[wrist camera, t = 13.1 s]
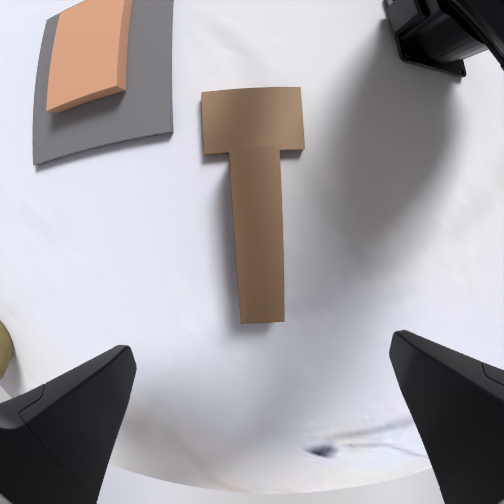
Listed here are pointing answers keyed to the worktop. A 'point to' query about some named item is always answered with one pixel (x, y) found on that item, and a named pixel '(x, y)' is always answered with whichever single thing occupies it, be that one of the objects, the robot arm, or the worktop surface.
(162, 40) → the mat
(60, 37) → the tile
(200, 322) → the worktop surface
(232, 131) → the turner
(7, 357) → the squeeze bottle
